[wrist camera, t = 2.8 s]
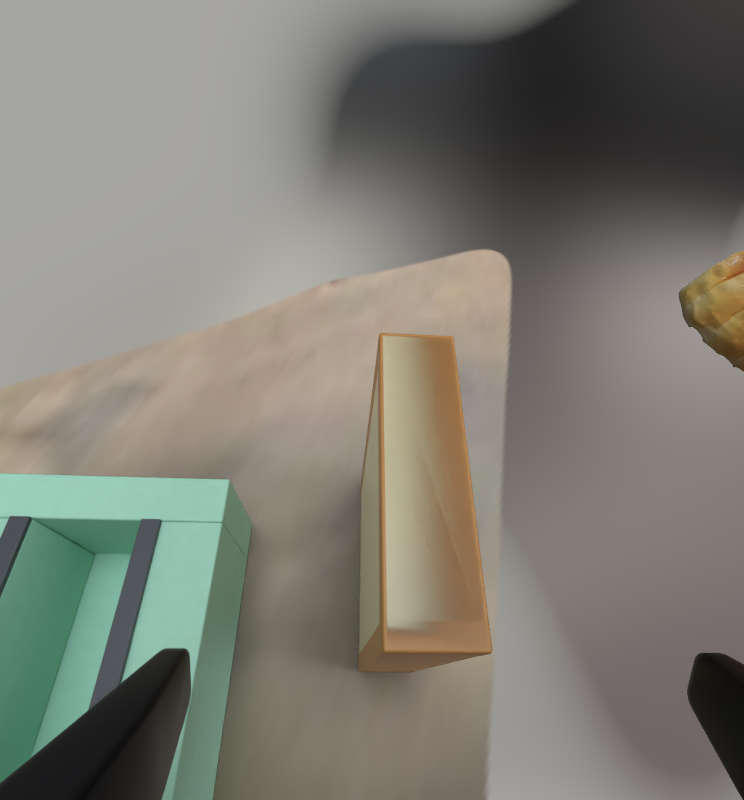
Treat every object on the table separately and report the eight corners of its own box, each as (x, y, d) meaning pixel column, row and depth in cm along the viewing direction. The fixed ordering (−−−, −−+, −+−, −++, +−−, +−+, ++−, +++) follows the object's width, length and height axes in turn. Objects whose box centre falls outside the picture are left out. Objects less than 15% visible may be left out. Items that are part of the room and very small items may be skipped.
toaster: (194, 929, 13) (125, 1046, 9) (-155, 939, 13) (-409, 1068, 8) (252, 523, 20) (228, 476, 15) (22, 518, 19) (-70, 468, 15)
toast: (412, 672, 17) (493, 653, 8) (358, 671, 17) (383, 652, 8) (404, 482, 21) (453, 335, 12) (361, 481, 21) (379, 331, 12)
